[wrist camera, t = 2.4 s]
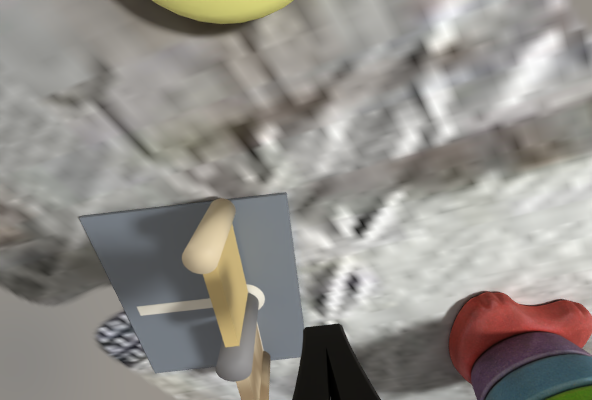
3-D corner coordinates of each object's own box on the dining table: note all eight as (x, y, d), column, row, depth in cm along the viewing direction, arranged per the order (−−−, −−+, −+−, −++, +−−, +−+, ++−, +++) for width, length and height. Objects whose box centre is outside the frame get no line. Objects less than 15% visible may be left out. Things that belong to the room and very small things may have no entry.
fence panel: (260, 311, 20) (254, 379, 16) (234, 314, 20) (220, 383, 16) (236, 196, 17) (218, 242, 12) (203, 200, 17) (172, 247, 12)
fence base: (271, 363, 23) (268, 439, 18) (250, 365, 23) (242, 442, 19) (260, 310, 21) (253, 382, 16) (237, 313, 21) (222, 386, 16)
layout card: (307, 353, 24) (307, 356, 23) (156, 369, 24) (155, 373, 23) (286, 192, 17) (286, 194, 17) (82, 215, 17) (79, 218, 17)
